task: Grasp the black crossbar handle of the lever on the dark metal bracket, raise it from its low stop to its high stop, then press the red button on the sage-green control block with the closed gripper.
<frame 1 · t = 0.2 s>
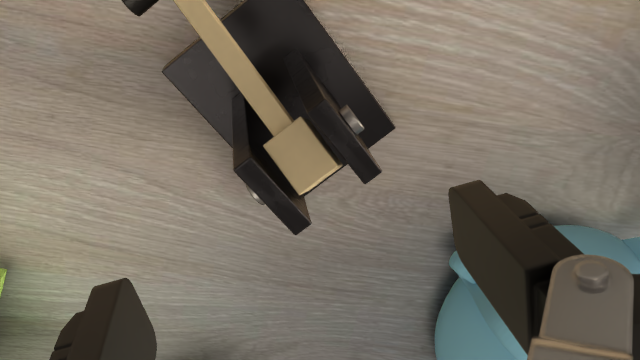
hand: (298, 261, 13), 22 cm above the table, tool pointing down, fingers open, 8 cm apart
teapot: (529, 305, 45), on the table
lever: (239, 68, 25), point 8 cm above the table, hinge at -28.0°
bracket: (283, 96, 34), on the table
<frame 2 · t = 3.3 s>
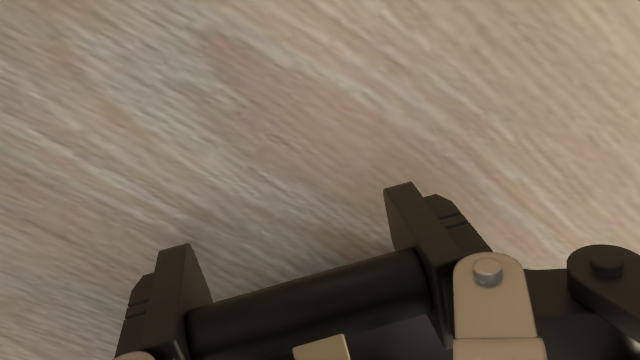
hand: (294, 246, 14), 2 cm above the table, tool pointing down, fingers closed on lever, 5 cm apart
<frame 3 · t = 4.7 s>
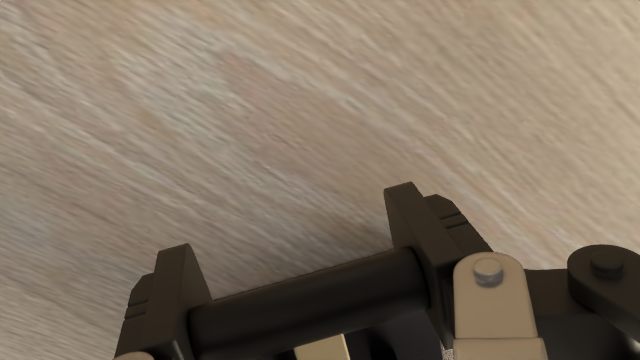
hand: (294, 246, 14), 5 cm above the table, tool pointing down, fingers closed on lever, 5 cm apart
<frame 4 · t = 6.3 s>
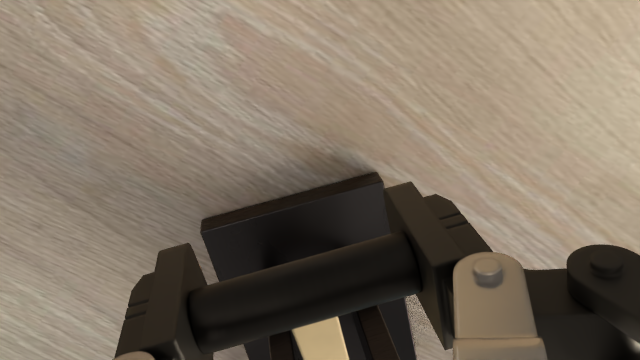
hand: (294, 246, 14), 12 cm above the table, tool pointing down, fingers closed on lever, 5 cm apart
bracket: (316, 290, 29), on the table
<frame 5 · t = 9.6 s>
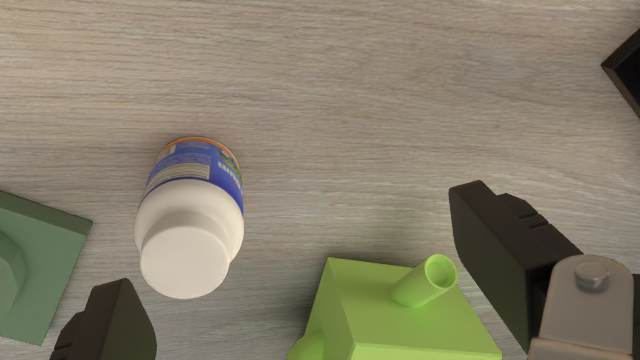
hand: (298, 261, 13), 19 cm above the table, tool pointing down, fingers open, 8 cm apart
pill bottle: (196, 173, 33), on the table
kettle: (354, 313, 39), on the table
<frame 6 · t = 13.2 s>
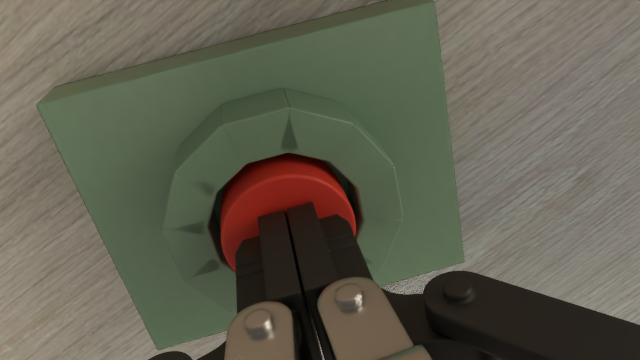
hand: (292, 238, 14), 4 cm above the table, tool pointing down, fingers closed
control block: (275, 172, 18), on the table
button: (286, 220, 15), point 3 cm above the table, slide at -0.6 cm, touching gripper
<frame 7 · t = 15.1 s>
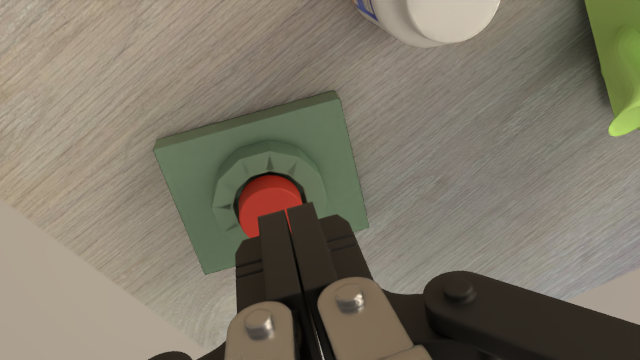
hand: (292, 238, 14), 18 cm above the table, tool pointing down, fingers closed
control block: (266, 179, 33), on the table
button: (271, 209, 30), point 4 cm above the table, slide at 0.2 cm
kettle: (638, 12, 33), on the table
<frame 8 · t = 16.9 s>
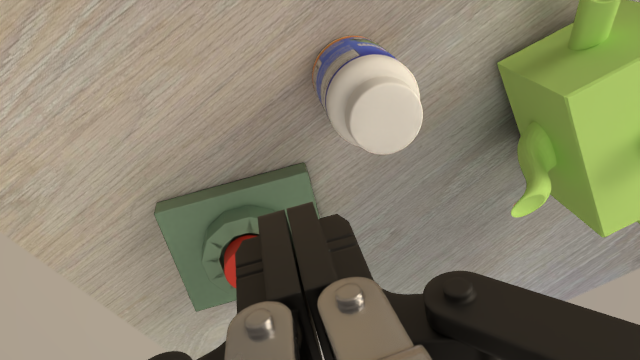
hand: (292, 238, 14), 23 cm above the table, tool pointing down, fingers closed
pill bottle: (348, 73, 36), on the table
control block: (248, 233, 40), on the table
button: (250, 263, 36), point 4 cm above the table, slide at 0.2 cm
kettle: (555, 98, 40), on the table
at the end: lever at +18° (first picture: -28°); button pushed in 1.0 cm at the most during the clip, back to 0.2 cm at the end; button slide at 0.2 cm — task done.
